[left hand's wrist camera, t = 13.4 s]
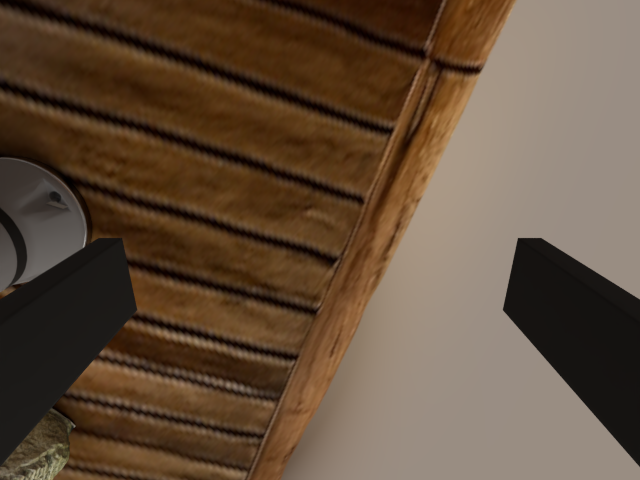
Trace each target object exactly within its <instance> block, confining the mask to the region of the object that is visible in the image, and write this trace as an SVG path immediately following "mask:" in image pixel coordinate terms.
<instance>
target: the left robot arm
mask: <svg viewBox="0 0 640 480" xmlns="http://www.w3.org/2000/svg"><path fill="white" fill-rule="evenodd" d="M91 238H92V223H91V218H90V214H89V211H88V209H87V206H86V204H85V202H84V200H83V198H82V197H81V195H80V194H79V192H78V191H77V190H76V188H75V187H74V186H73V185H72V184H71V183H70V182H69V181H68V180H67V179H66V178H65V177H64V176H62V175H61V174H60V173H58V172H57V171H56V170H54V169H52V168H51V167H49V166H47V165H45V164H43V163H41V162H38V161H36V160H33V159H29V158H25V157H18V156H5V157H0V292H1V291H3V290H4V289H6V288H8V287H9V286H11V285H13V284H18V283H23V282H28V281H29V282H28V283H26V284H24V285H23V286H21V287H20V288H18V289H16V290H15V291H13V292H12V293H10V294H8V295H7V296H5V297H4V298H2V299H0V466H1V465H2V464H3V463H4V462H5V461H6V460H7V458H8V457H9V456H10V455H11V454H12V453H13V452H14V450H15V449H16V448H17V447H18V446H19V445H20V444H21V442H22V441H23V440H24V439H25V438H26V437H27V436H28V434H29V433H30V432H31V431H32V430H33V429H34V428H35V426H36V425H37V424H38V423H39V422H40V421H41V419H42V418H43V417H44V416H45V415H46V414H47V413H48V411H49V410H50V409H51V408H52V407H53V406H54V405H55V403H56V402H57V401H58V400H59V399H60V398H61V397H62V395H63V394H64V393H65V392H66V391H67V390H68V389H69V387H70V386H71V385H72V384H73V383H74V382H75V381H76V379H77V378H78V377H79V376H80V375H81V374H82V373H83V371H84V370H85V369H86V368H87V367H88V366H89V364H90V363H91V362H92V361H93V360H94V359H95V358H96V356H97V355H98V354H99V353H100V352H101V351H102V350H103V348H104V347H105V346H106V345H107V344H108V343H109V342H110V340H111V339H112V338H113V337H114V336H115V335H116V334H117V332H118V331H119V330H120V329H121V328H122V327H123V326H124V324H125V323H126V322H127V321H128V320H129V319H130V318H131V316H132V315H133V314H134V313H135V312H136V311H137V307H136V302H135V298H134V293H133V288H132V283H131V279H130V274H129V269H128V264H127V260H126V255H125V250H124V245H123V241H122V238H98V239H97V240H95V241H93V242H92V243H90V242H91ZM503 311H504V312H505V313H506V314H507V315H508V316H509V318H510V319H511V320H512V321H513V322H514V323H515V324H516V326H517V327H518V328H519V329H520V330H521V331H522V332H523V334H524V335H525V336H526V337H527V338H528V339H529V340H530V342H531V343H532V344H533V345H534V346H535V347H536V348H537V350H538V351H539V352H540V353H541V354H542V355H543V356H544V358H545V359H546V360H547V361H548V362H549V363H550V364H551V366H552V367H553V368H554V369H555V370H556V371H557V373H558V374H559V375H560V376H561V377H562V378H563V379H564V381H565V382H566V383H567V384H568V385H569V386H570V387H571V389H572V390H573V391H574V392H575V393H576V394H577V395H578V397H579V398H580V399H581V400H582V401H583V402H584V403H585V405H586V406H587V407H588V408H589V409H590V410H591V411H592V413H593V414H594V415H595V416H596V417H597V418H598V419H599V421H600V422H601V423H602V424H603V425H604V426H605V427H606V429H607V430H608V431H609V432H610V433H611V434H612V435H613V437H614V438H615V439H616V440H617V441H618V442H619V444H620V445H621V446H622V447H623V448H624V449H625V450H626V452H627V453H628V454H629V455H630V456H631V457H632V458H633V460H634V461H635V462H636V463H637V464H638V465H639V466H640V299H638V298H636V297H635V296H633V295H632V294H630V293H628V292H627V291H625V290H624V289H622V288H620V287H619V286H617V285H616V284H614V283H612V282H611V281H609V280H608V279H606V278H604V277H603V276H601V275H599V274H598V273H596V272H595V271H593V270H592V269H590V268H588V267H587V266H585V265H583V264H582V263H580V262H579V261H577V260H575V259H574V258H572V257H571V256H569V255H567V254H566V253H564V252H563V251H561V250H559V249H558V248H556V247H555V246H553V245H551V244H550V243H548V242H547V241H545V240H543V239H542V238H518V241H517V246H516V250H515V255H514V260H513V265H512V269H511V274H510V279H509V284H508V288H507V293H506V298H505V302H504V307H503Z"/></svg>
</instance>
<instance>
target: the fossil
mask: <svg viewBox="0 0 640 480" xmlns="http://www.w3.org/2000/svg"><path fill="white" fill-rule="evenodd" d="M74 427H75V425H74V424H73V423H72V422H71V421H70V420H69V419H67V418H66V417H64V416H63V415H62V414H60V413H59V412H57V411H56V410H54V409H53V408H51V409H50V410H49V411H48V413H47V414H46V415H45V416H44V417H43V418H42V419H41V421H40V422H39V423H38V424H37V425H36V426H35V428H34V429H33V430H32V431H31V432H30V433H29V434H28V436H27V437H26V438H25V439H24V440H23V441H22V442H21V444H20V445H19V446H18V447H17V448H16V449H15V450H14V452H13V453H12V454H11V455H10V456H9V457H8V458H7V460H6V461H5V462H4V463H3V464H2V465H1V466H0V480H52V479H53V478H54V477H55V475H56V474H57V473H58V472H59V471H60V470H61V469H62V468H63V467H64V465H65V464H66V462H67V461H68V459H69V453H70V451H69V445H70V442H69V439H68V436H69V435H70V433H71V430H72V429H73V428H74Z"/></svg>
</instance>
